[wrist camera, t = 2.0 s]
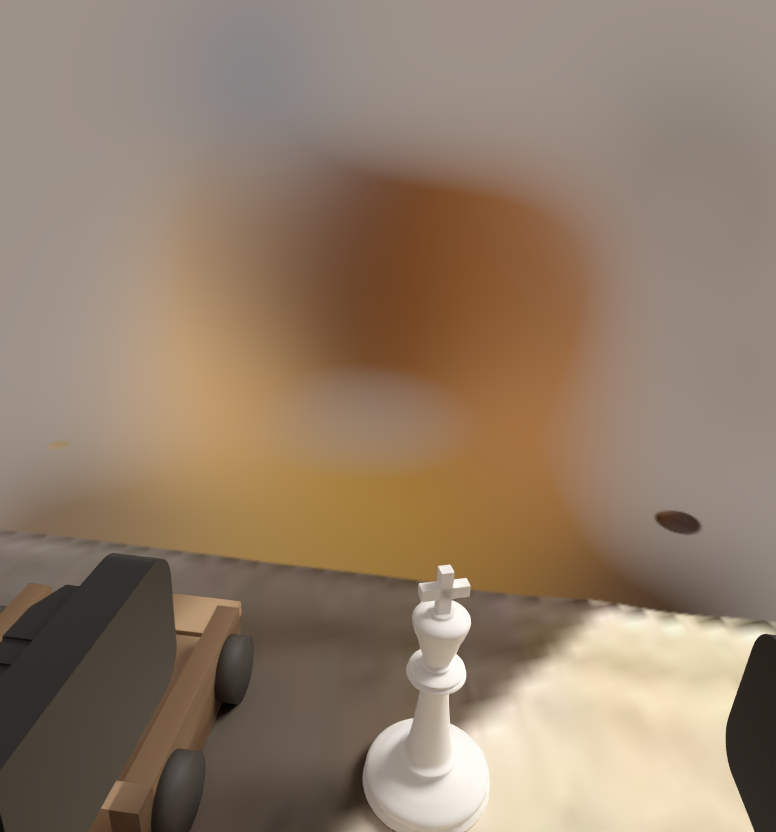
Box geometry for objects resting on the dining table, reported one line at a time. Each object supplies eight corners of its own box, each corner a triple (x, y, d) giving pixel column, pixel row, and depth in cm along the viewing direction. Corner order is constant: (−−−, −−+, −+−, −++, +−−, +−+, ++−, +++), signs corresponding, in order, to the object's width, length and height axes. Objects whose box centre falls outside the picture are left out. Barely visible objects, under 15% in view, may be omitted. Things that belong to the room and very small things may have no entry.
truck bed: (275, 618, 34) (274, 569, 33) (170, 878, 23) (162, 817, 21) (59, 592, 36) (50, 544, 34) (-150, 828, 24) (-175, 767, 22)
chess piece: (352, 738, 28) (358, 534, 24) (464, 720, 29) (489, 522, 25) (377, 854, 24) (391, 629, 20) (509, 827, 25) (547, 609, 21)
